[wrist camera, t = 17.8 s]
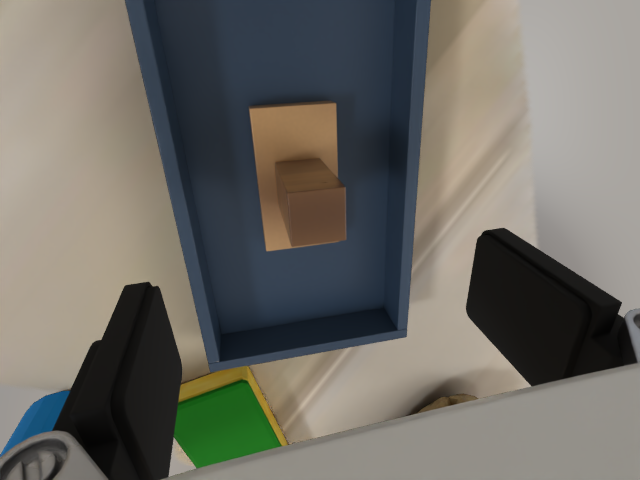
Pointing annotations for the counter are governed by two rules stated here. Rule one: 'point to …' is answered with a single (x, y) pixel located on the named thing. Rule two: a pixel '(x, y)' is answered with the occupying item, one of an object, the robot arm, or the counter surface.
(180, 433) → the dish sponge
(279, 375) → the counter surface
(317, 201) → the two-tone wood block
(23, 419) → the bottle
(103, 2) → the counter surface
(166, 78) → the baking dish
